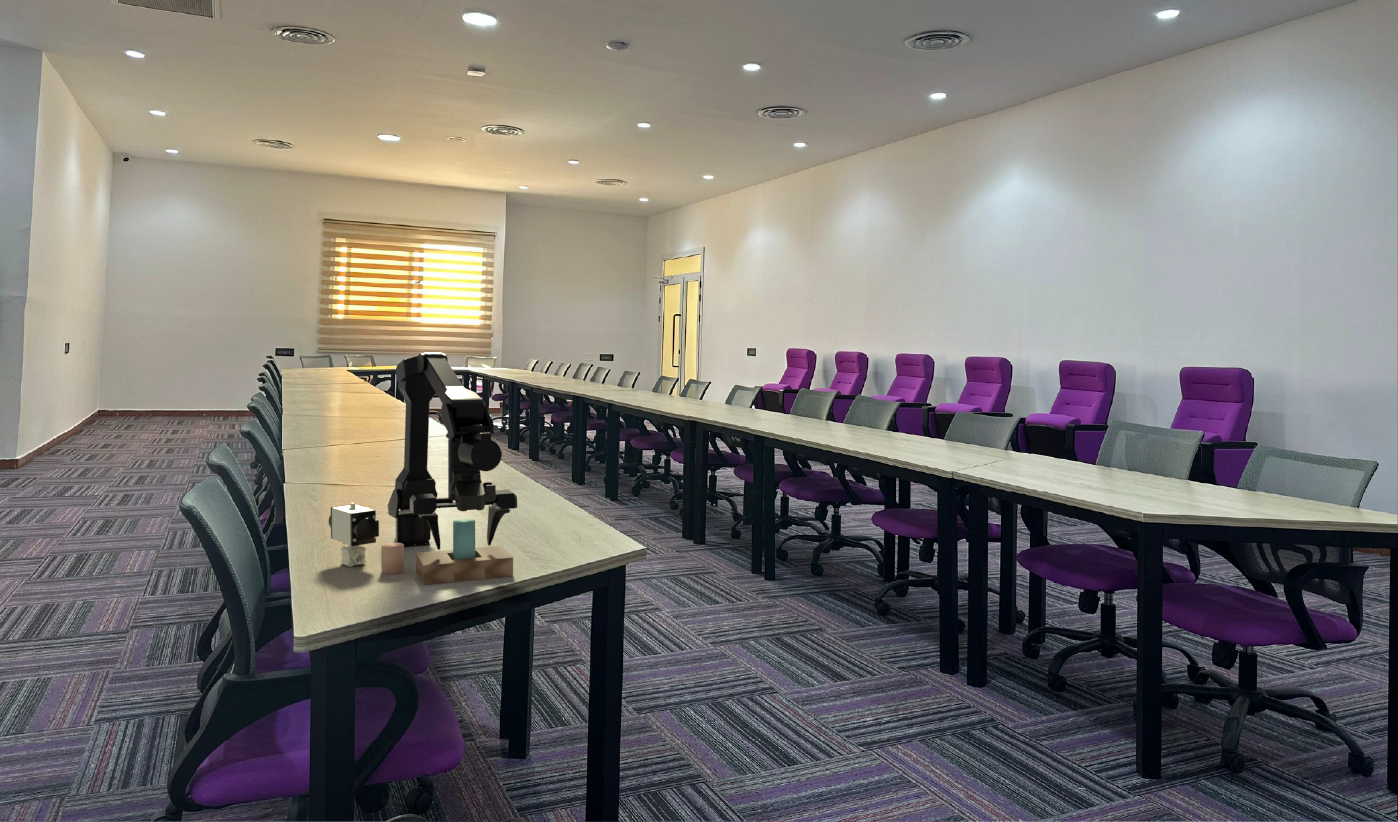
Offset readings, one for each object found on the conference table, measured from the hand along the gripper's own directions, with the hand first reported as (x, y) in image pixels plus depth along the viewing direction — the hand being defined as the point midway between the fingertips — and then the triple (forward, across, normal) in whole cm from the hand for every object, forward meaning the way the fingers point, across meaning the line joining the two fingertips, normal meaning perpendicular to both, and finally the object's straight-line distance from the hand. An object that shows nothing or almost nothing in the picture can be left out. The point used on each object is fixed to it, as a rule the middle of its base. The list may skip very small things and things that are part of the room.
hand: (464, 547), depth 154 cm
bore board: (+5, 0, 0) cm, 5 cm away
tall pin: (+5, 0, 0) cm, 5 cm away
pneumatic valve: (+5, -18, +14) cm, 24 cm away
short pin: (+5, -12, +6) cm, 15 cm away
